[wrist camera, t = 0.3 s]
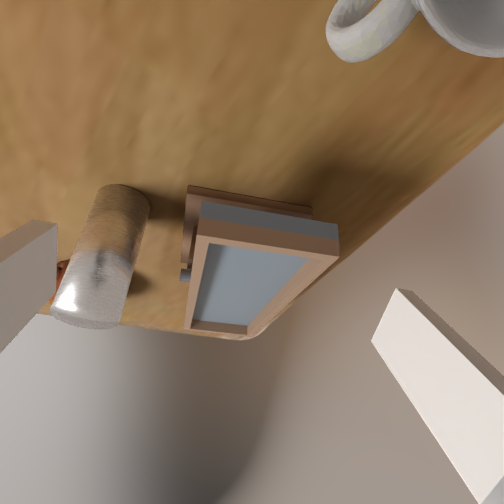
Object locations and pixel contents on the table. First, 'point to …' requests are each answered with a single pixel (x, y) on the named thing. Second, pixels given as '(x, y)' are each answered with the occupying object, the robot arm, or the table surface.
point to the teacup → (400, 16)
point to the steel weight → (103, 260)
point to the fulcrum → (201, 194)
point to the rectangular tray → (252, 266)
